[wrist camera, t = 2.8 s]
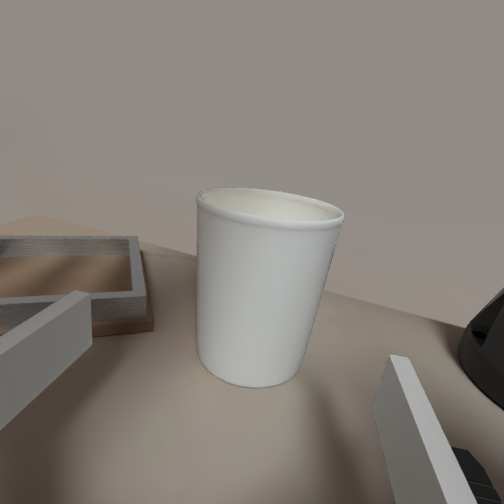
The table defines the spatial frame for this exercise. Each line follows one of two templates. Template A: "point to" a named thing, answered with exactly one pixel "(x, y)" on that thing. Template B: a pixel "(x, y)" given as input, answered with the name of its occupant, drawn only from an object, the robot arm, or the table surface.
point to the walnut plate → (74, 283)
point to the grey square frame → (102, 304)
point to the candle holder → (260, 280)
